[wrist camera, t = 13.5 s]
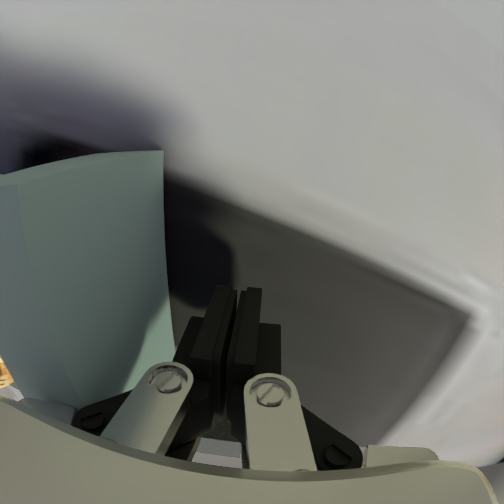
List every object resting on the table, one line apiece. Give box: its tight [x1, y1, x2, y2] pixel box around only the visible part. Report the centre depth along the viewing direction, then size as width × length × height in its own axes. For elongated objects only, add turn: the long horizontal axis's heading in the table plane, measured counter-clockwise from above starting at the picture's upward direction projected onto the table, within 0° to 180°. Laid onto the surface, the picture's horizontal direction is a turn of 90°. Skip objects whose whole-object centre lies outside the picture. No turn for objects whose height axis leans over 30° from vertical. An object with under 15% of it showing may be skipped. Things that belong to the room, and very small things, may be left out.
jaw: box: [0, 150, 175, 411], centre depth 9 cm, size 3×12×7 cm, turn 177°
